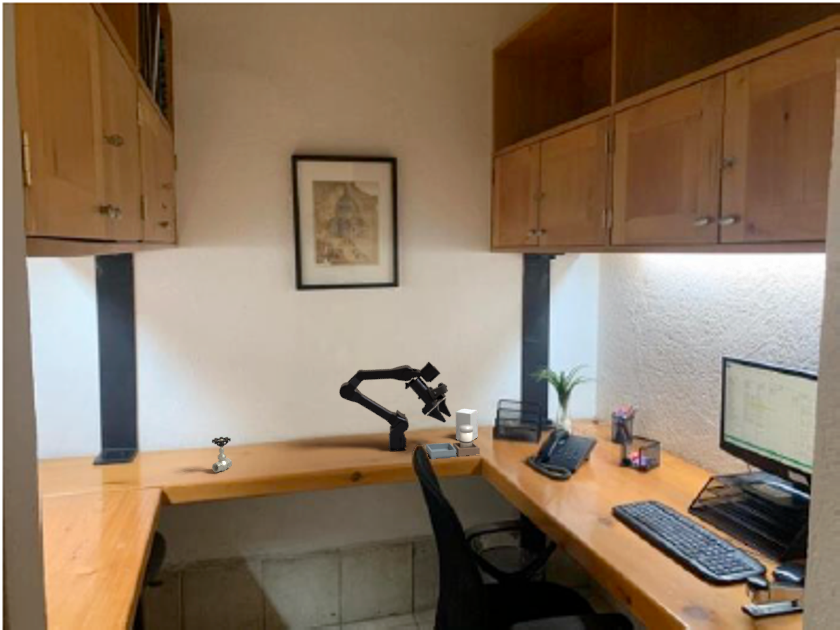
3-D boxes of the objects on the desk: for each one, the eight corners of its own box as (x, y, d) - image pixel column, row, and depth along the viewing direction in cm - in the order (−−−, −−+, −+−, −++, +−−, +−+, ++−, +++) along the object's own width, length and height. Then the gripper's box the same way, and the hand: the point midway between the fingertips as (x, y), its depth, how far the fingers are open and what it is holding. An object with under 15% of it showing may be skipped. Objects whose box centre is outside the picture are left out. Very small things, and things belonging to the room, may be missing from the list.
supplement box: (478, 438, 278) (478, 410, 276) (470, 442, 271) (470, 413, 270) (463, 435, 282) (463, 407, 280) (455, 440, 275) (455, 411, 274)
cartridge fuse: (461, 455, 255) (461, 428, 254) (458, 451, 260) (458, 424, 259) (474, 454, 256) (474, 427, 255) (470, 450, 261) (470, 424, 260)
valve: (209, 472, 236) (208, 440, 235) (222, 466, 242) (221, 435, 241) (222, 474, 233) (221, 442, 232) (235, 469, 239) (234, 438, 237)
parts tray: (431, 459, 250) (431, 451, 249) (426, 451, 259) (426, 444, 259) (456, 457, 252) (456, 450, 252) (449, 449, 262) (449, 442, 261)
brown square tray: (458, 456, 253) (458, 449, 252) (453, 450, 261) (453, 443, 261) (479, 455, 255) (479, 447, 254) (473, 448, 263) (473, 441, 263)
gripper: (430, 381, 250) (457, 411, 248) (441, 373, 268) (466, 401, 266) (410, 400, 252) (437, 429, 251) (423, 390, 270) (447, 418, 268)
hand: (447, 419), depth 259 cm, fingers open, 9 cm apart
